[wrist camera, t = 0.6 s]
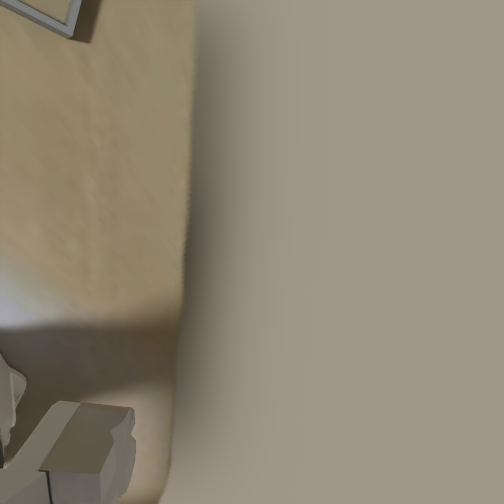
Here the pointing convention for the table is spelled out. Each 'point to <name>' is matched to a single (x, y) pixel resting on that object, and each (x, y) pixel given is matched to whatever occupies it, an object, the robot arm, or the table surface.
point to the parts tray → (64, 30)
